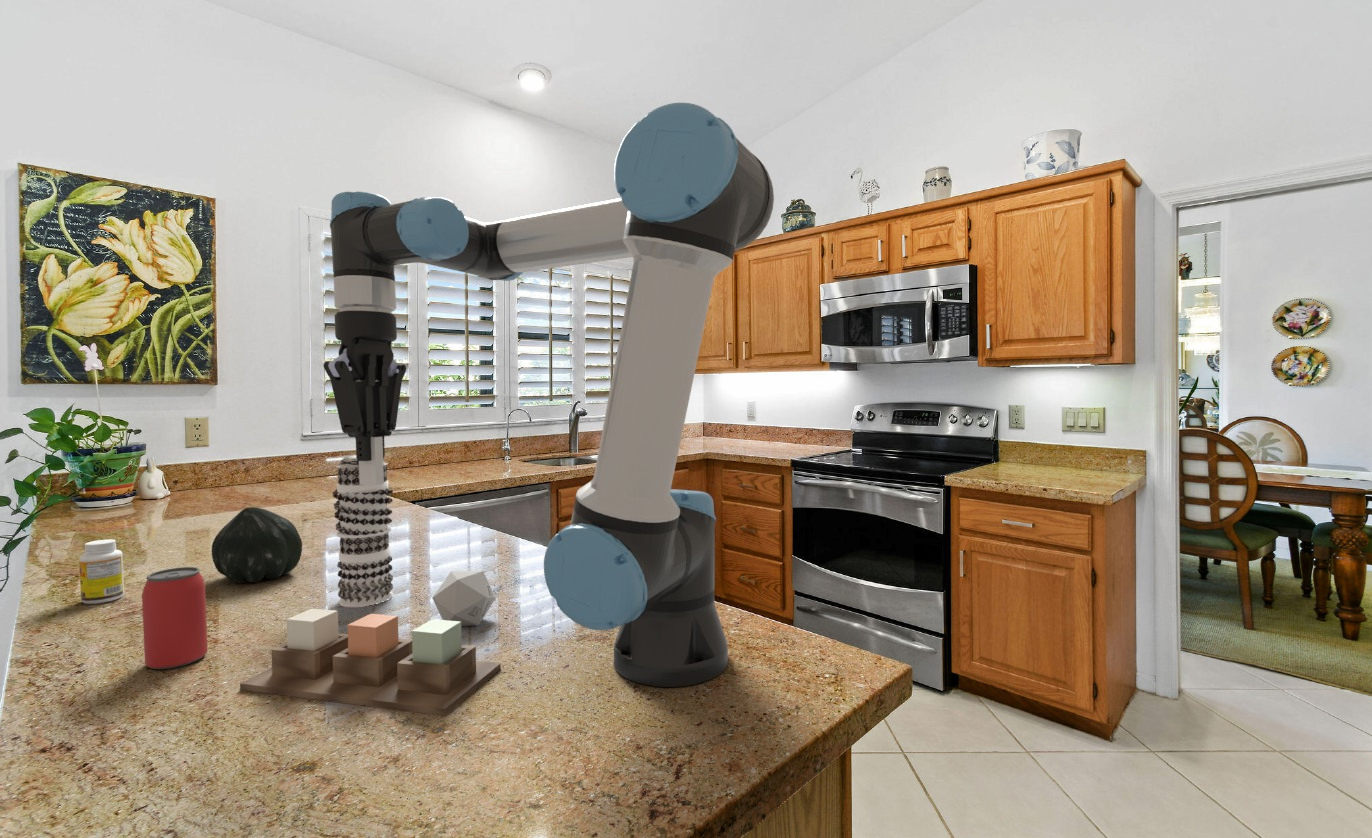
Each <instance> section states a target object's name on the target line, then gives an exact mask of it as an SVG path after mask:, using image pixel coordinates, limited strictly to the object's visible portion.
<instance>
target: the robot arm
mask: <svg viewBox="0 0 1372 838" xmlns="http://www.w3.org/2000/svg"><path fill="white" fill-rule="evenodd" d="M614 161H615V162H614V167H613V168H614V169H613V178H614V185H615V189H616V192H617V194H619V197H620V198H615V199H614V198H613V199H610V200H605V201H599V202H593V203H589V204H584V205H578V206H573V207H567V208H561V209H557V210H551V211H547V212H541V213H535V214H529V215H525V216H520V217H514V218H509V219H505V220H499V221H494V222H482V221H479V220H477V219H473V218H471V217H467V216H465V214H464V212H463V211H462V210H460V209H459V207H457V206H456V204H455V203H454V202H453V201H452V200H450V199H447V198H445V197H439V196H435V197H419V198H414V199H410V200H408V201H404V202H399V203H394V204H392V202H390V200H389V199H387V197H384V196H383V195H380V194H376V193H371V192H366V191H343V192H339V193H336V195H334V196H333V197H332V199H331V213H330V215H331V216H330V218H331V219H330V223H329V227H330V237H331V255H332V256H331V257H332V273H333V297H334V299H333V300H334V303H333V304H334V308H336V309H337V310H339V311H337V312H336V313H335V314H334V333H335V334H334V335H335V339H336V340H338V341H340V347H339V349H338V356H337V357H336V358H334V359H333V360H327V361H325V362H324V363H323V369H324V370H325V372H326V374H327V376H328V378H329V379H330V383H331V389H332V392H333V397H334V400H335V406H336V409H337V414H338V419H339V423H340V427H341V431H342V432H343V433H344V434H347V435H348V437H349V438H354V439H355V453H356V454H355V455H356V458H357V461H359V482H360V485H379V484H384V470H383V461H384V459H385V457H386V451H385V437H390V436H391V435H392V431H395V429H396V427H397V421H398V411H399V405H400V399H401V391H402V390H401V389H402V383H403V379H404V377H405V374H406V372H407V366H406V365H405V364H399V363H398V362H397V361H395V359H394V357H395V356H394V352H393V349H392V343H393V342H395V341H396V340H397V339H398V334H397V333H398V331H397V317H396V316H395V314H393V312H395V311H396V309H397V296H396V295H397V294H396V292H397V291H396V275H395V266H399V265H406V264H408V265H409V264H416V263H417V264H418V263H419V264H425V265H430V266H434V267H439V268H443V269H448V270H452V271H457V272H461V273H465V274H469V275H474V276H478V277H481V278H485V279H488V280H492V281H504V282H509V281H514V280H516V279H518V278H519V277H520V276H521V275H522V274H523V273H526V272H533V271H541V270H548V269H554V268H555V269H556V268H563V267H569V266H577V265H584V264H592V263H598V262H606V261H611V260H612V261H613V260H614V261H615V260H620V259H628V258H632V259H633V264H632V270H631V275H630V281H629V286H628V292H627V297H626V302H625V306H624V307H625V308H624V313H623V319H622V323H621V329H620V334H619V338H618V339H619V340H618V344H617V350H616V356H615V361H614V366H613V372H612V378H611V383H610V389H609V392H608V393H609V394H608V398H607V403H606V409H605V417H604V420H603V421H604V422H603V425H602V431H601V437H600V443H599V447H598V453H597V457H596V463H595V469H594V474H593V478H592V479H591V480H590V481H589V482H587V483H586V484H584V485H583V486H582V487H580V488H578V489H577V492H576V493H575V498H574V505H573V509H572V515H571V520H570V524H568V525H566V526H565V527H563V528H561V530H559V531H558V532H557V533H556V534H555V535H554V536H553V537H552V539H550V541H549V543H548V544H547V547H546V550H545V552H544V558H543V574H544V579H545V583H546V587H547V589H548V592H549V594H550V596H551V597H552V598H553V599H555V601H556V606H557V607H558V609H560V611H561V612H562V613H563V614H564V615H565V616H566V617H567V618H568V619H570V620H571V621H573V622H574V623H576V624H577V625H579V626H580V627H583V628H586V629H589V630H593V631H609V630H614V629H617V628H618V627H619V629H618V633H617V635H616V638H615V642H614V645H613V666H614V669H615V670H616V672H617V673H618V674H619V675H620V676H622V677H624V678H625V679H627V680H629V681H632V682H634V683H637V684H641V685H646V686H652V687H660V688H661V687H666V688H668V687H669V688H674V687H685V686H692V685H698V684H701V683H704V682H707V681H710V680H713V679H714V678H717V677H718V676H720V674H722V673H723V672H725V670H726V669H727V667H728V665H729V664H728V663H729V647H728V646H729V645H728V642H727V638H726V635H725V632H724V629H723V626H722V623H721V620H720V616H719V613H718V611H717V607H716V603H715V578H716V577H715V573H716V571H715V566H716V565H715V563H716V562H715V559H716V558H715V556H716V553H715V552H716V551H715V550H716V546H715V541H716V539H715V533H716V532H715V529H716V521H717V518H716V517H717V516H716V515H715V507H714V504H715V503H714V498H713V497H712V496H711V494H709V493H708V492H705V491H700V490H687V489H675V488H674V489H672V485H673V480H674V475H675V469H676V465H677V460H678V455H679V450H680V446H681V441H682V436H683V431H684V427H685V422H686V416H687V411H688V407H689V403H690V397H691V393H692V387H693V383H694V377H695V372H696V369H697V368H696V367H697V363H698V358H699V353H700V348H701V343H702V338H703V334H704V329H705V324H706V319H707V316H708V315H707V314H708V309H709V305H710V301H711V297H712V291H713V285H714V280H715V278H716V277H717V275H718V274H720V273H721V272H723V271H724V270H726V269H727V268H728V267H730V266H732V263H733V260H734V256H735V252H737V251H740V250H741V249H744V248H746V247H747V246H749V245H751V244H752V243H753V242H755V241H756V240H757V239H758V238H759V237H760V236H761V235H762V233H763V231H764V230H765V228H766V227H767V226H768V223H769V221H770V219H771V216H772V213H773V209H774V204H775V203H774V201H775V195H774V187H773V182H772V179H771V177H770V174H769V171H768V169H767V168H766V167H765V165H764V164H763V163H762V161H761V160H760V159H759V158H758V157H757V156H756V155H755V154H754V153H752V152H751V150H750V149H749V148H747V147H746V146H745V145H744V144H743V143H742V141H740V140H739V138H737V137H736V135H735V133H734V131H733V129H732V127H730V125H729V124H728V123H727V122H726V121H725V120H724V119H722V118H720V117H717V116H715V114H713V112H711V111H709V110H708V109H706V108H705V107H702V106H701V105H698V104H696V103H695V104H694V103H690V102H673V103H671V102H670V103H668V104H665V105H661V106H659V107H656V108H654V109H652V110H651V111H649V112H648V113H647V114H646V115H645V116H644V117H643V118H642V119H641V120H638V121H636V122H635V123H634V124H633V125H632V126H631V127H630V129H629V130H628V132H627V133H626V135H625V136H624V138H623V139H622V142H621V143H620V145H619V148H618V151H617V154H616V156H615V160H614Z"/></svg>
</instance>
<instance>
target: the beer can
mask: <svg viewBox="0 0 1372 838" xmlns="http://www.w3.org/2000/svg"><path fill="white" fill-rule="evenodd" d="M200 571H201V569H200V568H198V567H194V566H185V567H183V566H182V567H174V568H167V569H163V570H157V571H155V572H151V573H150V574H148V575H147V576H146V581H145V585H144V586H143V589H142V594H141V599H142V600H141V602H142V626H143V648H144V649H143V651H144V664H145V665H146V666H147V667H148V668H149V669H153V670H167V669H168V670H170V669H174V668H175V669H176V668H180V667H185V666H187V665H189V664H192V663H195V662H197V661H199V660H201V659H202V658H204V656H205V655H206V654H207V652H208V629H207V627H208V626H207V604H206V599H207V598H206V582H205V581H204V577H203V576H202V574H201V572H200Z"/></svg>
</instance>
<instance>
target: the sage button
mask: <svg viewBox="0 0 1372 838" xmlns="http://www.w3.org/2000/svg"><path fill="white" fill-rule="evenodd" d="M411 640H412V654H413V661H414V662H423V663H433V664H442V665H443V664H445V663H446V662H448V661H449V660H451V659H452V658H453V657H455V656H456V655H458V654H459V653H460V652H462V645H463V644H462V642H463V641H462V626H461V622H460V621H449V620H442V619H436V618H431V619H430V620H429V621H427V622H425V623H423V624H421V625H419V626H417V627H416V628H415V629H413V630H411Z"/></svg>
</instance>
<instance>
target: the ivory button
mask: <svg viewBox="0 0 1372 838" xmlns="http://www.w3.org/2000/svg"><path fill="white" fill-rule="evenodd" d="M338 633H339V611H338V610H333V609H332V610H331V609H322V608H321V609H320V608H310V609H307V610H305V611H303V612H301V613H298V614H296V615H293V616H291V617H288V618H286V636H287V637H286V638H287V639H286V641H287V642H286V643H287V648H291V649H300V650H310V651H315V650H317V649H319V648H321V647H323V646H325V645H327V644H329V643H331V642H333V641H335V640H337V639H339V634H338Z"/></svg>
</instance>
